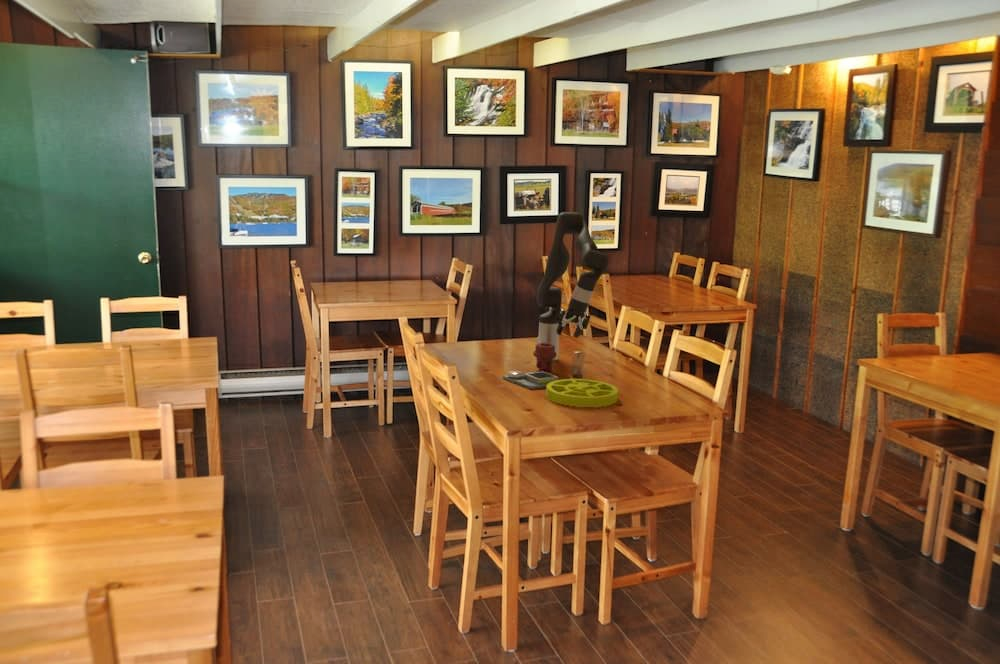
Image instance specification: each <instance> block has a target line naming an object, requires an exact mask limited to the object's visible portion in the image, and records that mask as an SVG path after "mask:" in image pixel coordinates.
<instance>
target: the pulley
mask: <svg viewBox="0 0 1000 664" xmlns="http://www.w3.org/2000/svg"><path fill="white" fill-rule="evenodd" d="M545 391H546V392H545V398H546V399H547V398H548V399H547V400H549V401H550V400H551V401H550V402H552V401H553V403H555V402H556V403H555V404H558V403H560V404H559V405H561V404H564V405H563V406H566V405H569V406H568V407H572V406H576V407H575V408H583V407H596V408H602V407H601V406H605V407H607V406H606V405H610V406H612V405H611V404H613V403H615V402H616V401H617V402H618V401H619V400H618V395H619V388H618V387H616V386H615V385H613V384H610V383H607V382H604V381H600V380H599V381H598V380H594V379H570V378H568V379H567V378H566V379H565V378H564V379H558V380H557V381H553V382H550V383H548V384H547V386H546V388H545ZM617 402H616V403H617ZM616 403H615V404H616ZM613 405H614V404H613Z"/></svg>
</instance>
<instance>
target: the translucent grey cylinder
mask: <svg viewBox="0 0 1000 664" xmlns="http://www.w3.org/2000/svg"><path fill="white" fill-rule="evenodd" d="M585 353H586V352H585V351H583V350H573V351H572V367H571V369H572V370H571V375H570V378H569V379H585V376H584V371H585V370H584V369H585Z"/></svg>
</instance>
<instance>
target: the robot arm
mask: <svg viewBox="0 0 1000 664" xmlns="http://www.w3.org/2000/svg"><path fill="white" fill-rule="evenodd" d="M565 235H578V236H577V238H576V241H575V245H576V248H577V250H578V252H579V253H580V257H581V258H580V259H581V264H582V265H583V266H584V267H586V268H589V269H592V270H590V271H587V272H581V273H580V275H579V277H578V280H577V282H576V285H575V287H574V290H573V292H572V294H571V297H570V300H569V302H568V306H567V307H568V308H567V309H564V308H562V302H563V292H562V289H561V287H558V286H553V285H554V284H555V283H556V282H557V281H558V280H559V279H560V278H561V277H562V276H564V274H565V273H566V272H567V269H568V266H569V264H570V259H571V257H570V256H571V255H570V252H569V250H568V247H567V245H566V244H565V241H564V238H565ZM553 236H554V237H553V239H552V240H553V241H552V244H551V248H550V251H549V253H548V258H547V261H546V266H545V270H544V273H543V277H542V278H541V282H540V284H539V287H538V290H537V293H536V305H537V306H538V307H539V308H544V309H545V308H546V309H547V308H550V309H549V310H548V311H547V312H545V313H542V314H540V315H539V320H538V336H537V338H536V344H540V343H541V342H548V343H550V344H553V345H555V352H556V357H555V358H553V362H554V361H557V360H558V357H559V356H558V354H559V339H560V338H559V337H560V336H561V335H562V332H563V331H564V326H566V325H567V324H569V323H574V324H576V328H575V331H574V333H573V337H574V338H576V339H578V337H580V335H581V332H582V330H587V328H588V326H589V322H590V319H591V315H590V314H589V313H586V312H587V310H588V308H589V305H590V302H591V299H592V297H593V293H594V290H595V287H596V285H597V282H598V281H599V279H600V278H601V276H602V275H603V274H604V273H605V271H606V270H607V268H608V266H609V263H610V259H609V255H607V254H606V253H605V252H599V249H598V246H597V244H596V243H595V241H594V240H593V238H592V236H591V234H590V231H589V227H588V225H587V222H586V219H585V216H584V215H583V214H582V213H581V212H578V211H577V212H576V211H575V212H571V211H563V212H561V213H559V214H558V217H557V219H556V224H555V229H554V235H553Z"/></svg>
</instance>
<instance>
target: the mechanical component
mask: <svg viewBox="0 0 1000 664" xmlns="http://www.w3.org/2000/svg"><path fill="white" fill-rule="evenodd" d="M533 356H534V357H535V358H536V365H535V367H536V368H537V369H538V372H542V371H545V372H552V371H553V362H554V361H553V358H555V357H556V352H555V345H553V344H550V343H548V342H541V343H540V344H537V343H536V344H535V350H534V351H533Z"/></svg>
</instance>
